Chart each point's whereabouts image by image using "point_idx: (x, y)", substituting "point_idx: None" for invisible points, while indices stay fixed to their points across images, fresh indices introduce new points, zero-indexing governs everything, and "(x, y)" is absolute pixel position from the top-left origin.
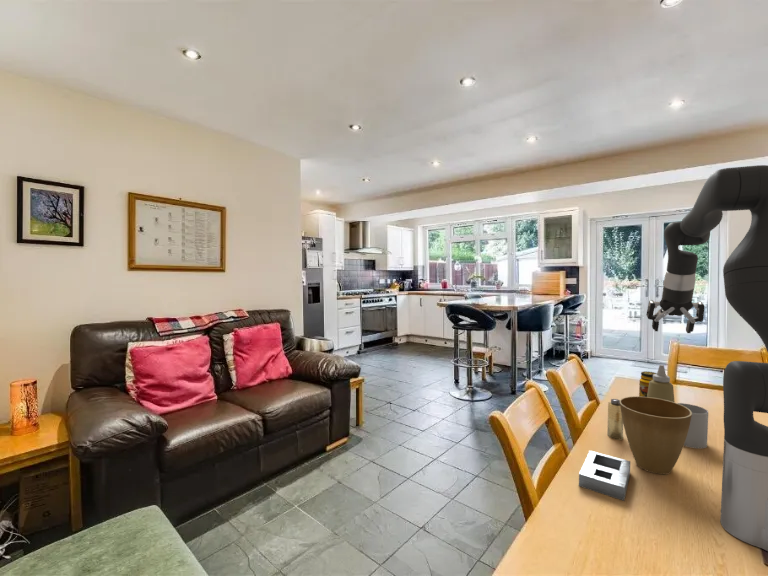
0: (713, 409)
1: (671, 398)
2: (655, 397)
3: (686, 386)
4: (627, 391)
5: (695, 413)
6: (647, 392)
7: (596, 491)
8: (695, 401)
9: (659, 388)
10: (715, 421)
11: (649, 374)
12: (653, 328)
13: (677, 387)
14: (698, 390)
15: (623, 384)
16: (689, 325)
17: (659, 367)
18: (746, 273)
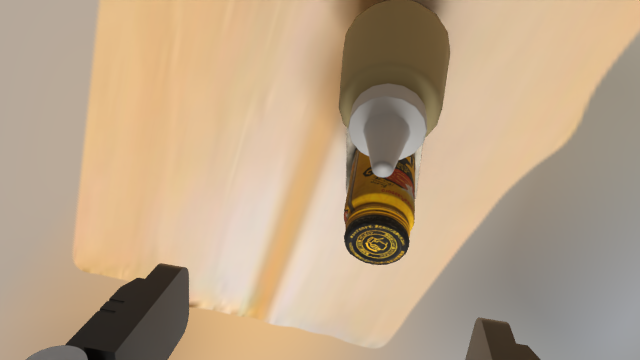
0: (196, 156)
1: (362, 38)
2: (431, 39)
3: (222, 307)
4: (408, 255)
5: None
6: (397, 169)
7: None
8: (229, 209)
9: (415, 57)
10: (215, 47)
11: (385, 227)
12: (531, 357)
13: (247, 299)
14: (200, 286)
15: (394, 305)
16: (129, 329)
17: (396, 158)
18: None
